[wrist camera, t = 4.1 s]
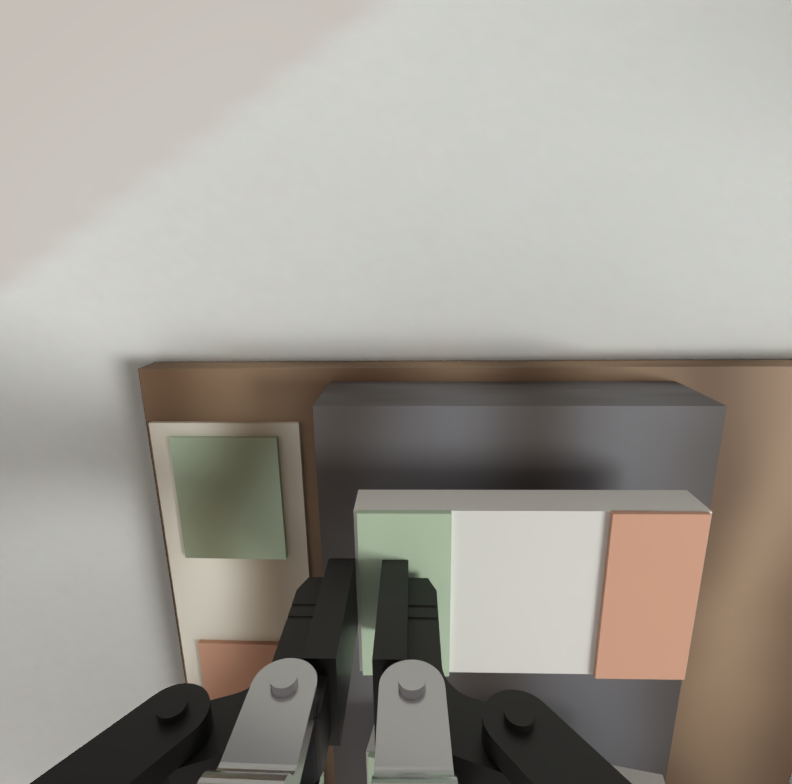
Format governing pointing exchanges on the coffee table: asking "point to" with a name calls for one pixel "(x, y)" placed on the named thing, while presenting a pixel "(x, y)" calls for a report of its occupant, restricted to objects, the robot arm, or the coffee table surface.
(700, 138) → the coffee table surface
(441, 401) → the switch unit
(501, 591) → the switch
